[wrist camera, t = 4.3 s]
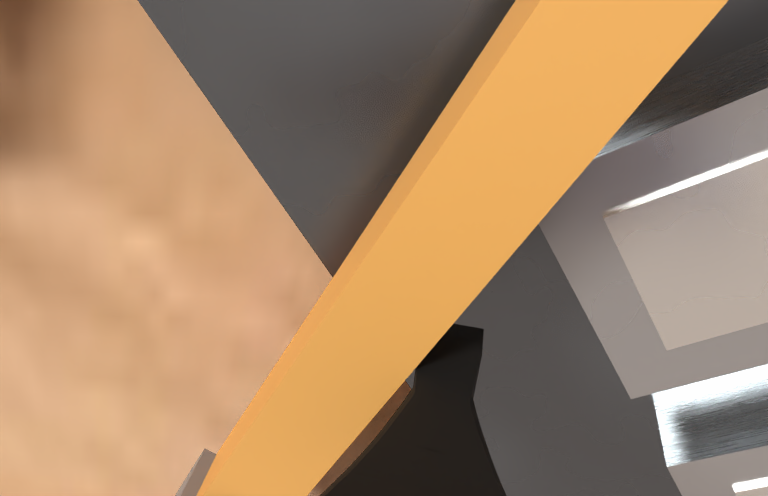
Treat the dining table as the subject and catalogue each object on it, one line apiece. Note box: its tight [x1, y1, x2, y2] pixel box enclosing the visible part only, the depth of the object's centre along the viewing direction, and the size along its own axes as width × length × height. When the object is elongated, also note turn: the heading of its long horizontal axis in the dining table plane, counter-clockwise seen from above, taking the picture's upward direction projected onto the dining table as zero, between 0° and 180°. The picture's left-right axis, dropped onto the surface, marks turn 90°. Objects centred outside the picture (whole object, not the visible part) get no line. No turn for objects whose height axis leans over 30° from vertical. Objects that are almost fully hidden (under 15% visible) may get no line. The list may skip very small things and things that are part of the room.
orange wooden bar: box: [175, 0, 728, 496], centre depth 11 cm, size 18×3×2 cm, turn 151°
